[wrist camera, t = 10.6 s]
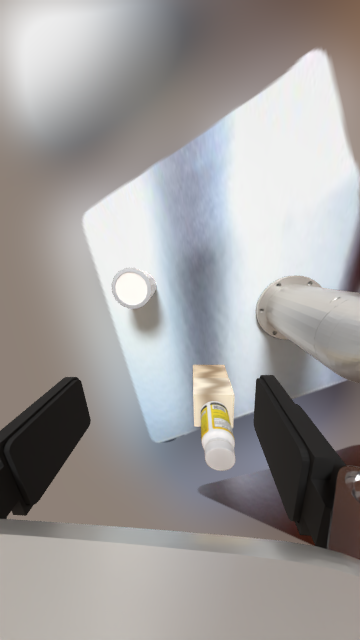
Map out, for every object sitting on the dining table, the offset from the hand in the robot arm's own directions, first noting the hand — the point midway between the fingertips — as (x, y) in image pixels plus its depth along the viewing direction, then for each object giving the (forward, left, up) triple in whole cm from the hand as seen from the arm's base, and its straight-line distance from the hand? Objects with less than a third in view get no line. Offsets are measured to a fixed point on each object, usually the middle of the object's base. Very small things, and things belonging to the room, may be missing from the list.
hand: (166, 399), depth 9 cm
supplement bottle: (-4, +18, -19) cm, 26 cm away
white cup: (+9, -4, -28) cm, 30 cm away
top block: (-4, +18, -23) cm, 30 cm away
